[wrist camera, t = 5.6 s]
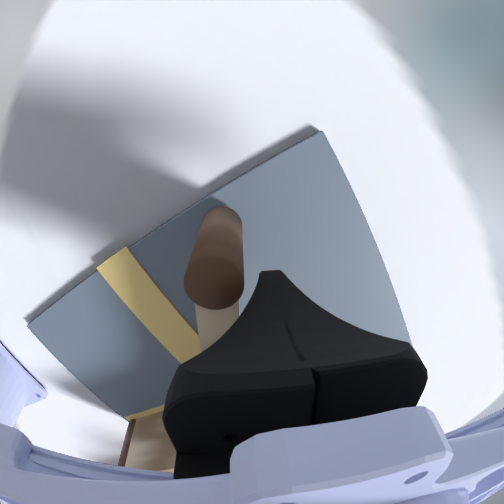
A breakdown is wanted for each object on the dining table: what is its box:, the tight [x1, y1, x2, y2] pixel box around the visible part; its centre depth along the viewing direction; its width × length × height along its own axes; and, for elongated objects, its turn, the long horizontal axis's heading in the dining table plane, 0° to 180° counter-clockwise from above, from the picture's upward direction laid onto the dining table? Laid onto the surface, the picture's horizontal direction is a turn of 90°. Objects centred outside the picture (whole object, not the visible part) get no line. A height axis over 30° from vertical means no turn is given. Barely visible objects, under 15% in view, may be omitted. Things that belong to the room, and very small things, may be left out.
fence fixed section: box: [118, 411, 176, 473], centre depth 15 cm, size 9×2×5 cm, turn 121°
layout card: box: [27, 131, 412, 422], centre depth 16 cm, size 19×15×1 cm
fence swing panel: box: [184, 207, 244, 352], centre depth 12 cm, size 10×2×5 cm, turn 0°
